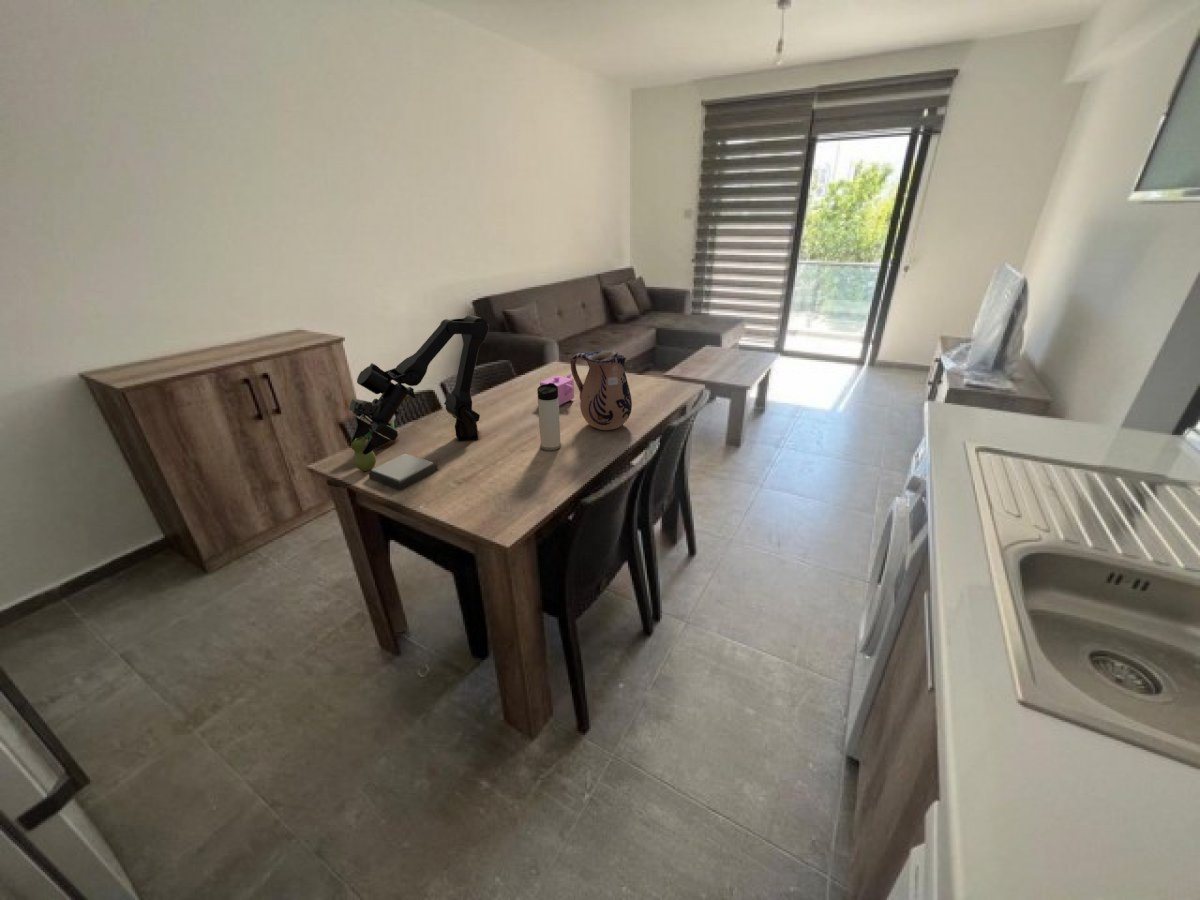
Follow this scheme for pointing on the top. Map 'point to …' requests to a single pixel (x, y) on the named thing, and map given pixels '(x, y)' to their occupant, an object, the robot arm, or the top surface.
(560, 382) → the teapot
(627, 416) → the ceramic pitcher
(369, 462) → the pear
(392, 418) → the food container
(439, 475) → the top surface
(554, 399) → the travel mug
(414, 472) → the kitchen scale
